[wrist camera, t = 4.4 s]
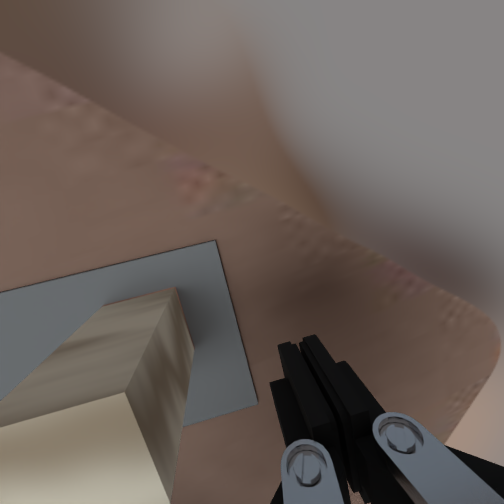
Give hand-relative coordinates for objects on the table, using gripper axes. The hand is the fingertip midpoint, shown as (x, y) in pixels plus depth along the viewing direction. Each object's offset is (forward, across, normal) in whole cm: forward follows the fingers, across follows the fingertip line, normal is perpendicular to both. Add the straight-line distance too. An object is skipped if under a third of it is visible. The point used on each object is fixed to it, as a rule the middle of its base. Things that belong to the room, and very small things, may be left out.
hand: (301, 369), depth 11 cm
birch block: (+8, +9, 0) cm, 12 cm away
